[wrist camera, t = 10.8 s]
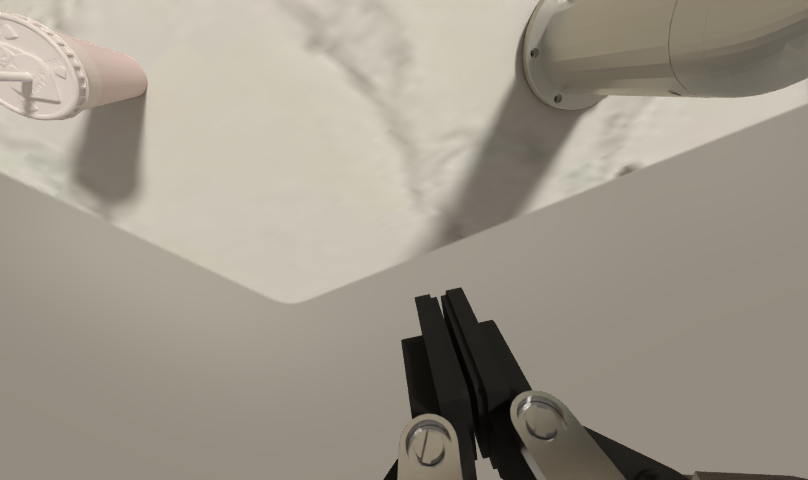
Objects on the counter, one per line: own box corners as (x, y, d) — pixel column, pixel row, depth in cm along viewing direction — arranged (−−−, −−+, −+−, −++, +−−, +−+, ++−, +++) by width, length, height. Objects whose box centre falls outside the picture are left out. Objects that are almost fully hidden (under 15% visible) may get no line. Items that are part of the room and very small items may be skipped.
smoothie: (135, 125, 30) (-24, 151, 18) (68, 66, 28) (-173, 48, 15) (177, 83, 29) (38, 79, 17) (112, 17, 27) (-112, -46, 14)
